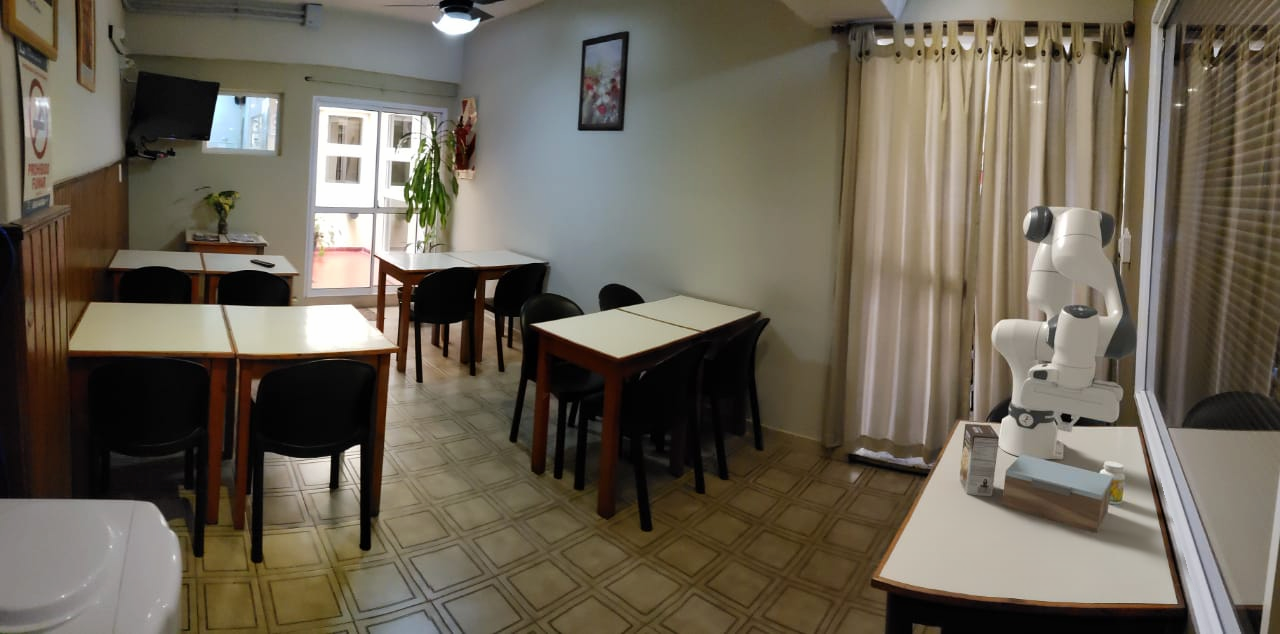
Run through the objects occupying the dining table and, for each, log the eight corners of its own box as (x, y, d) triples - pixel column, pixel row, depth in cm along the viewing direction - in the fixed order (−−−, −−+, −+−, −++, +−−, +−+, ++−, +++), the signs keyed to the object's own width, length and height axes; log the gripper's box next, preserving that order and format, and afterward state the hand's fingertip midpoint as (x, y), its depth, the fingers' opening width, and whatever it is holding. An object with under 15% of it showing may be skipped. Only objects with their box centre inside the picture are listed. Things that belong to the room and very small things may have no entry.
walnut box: (1017, 487, 185) (1021, 458, 183) (1107, 511, 172) (1112, 481, 170) (1001, 505, 174) (1005, 474, 173) (1096, 532, 161) (1101, 500, 160)
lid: (1020, 460, 183) (1021, 454, 183) (1111, 483, 170) (1112, 476, 170) (1003, 478, 172) (1004, 471, 172) (1099, 504, 159) (1100, 496, 159)
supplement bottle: (1126, 502, 177) (1131, 466, 175) (1112, 506, 175) (1118, 469, 173) (1104, 493, 182) (1109, 458, 180) (1091, 497, 180) (1096, 461, 178)
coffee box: (958, 479, 189) (964, 422, 186) (983, 482, 188) (990, 424, 185) (966, 494, 180) (972, 434, 177) (993, 497, 179) (1000, 436, 176)
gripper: (1126, 380, 162) (1118, 437, 165) (1028, 364, 175) (1022, 417, 178) (1122, 387, 157) (1113, 445, 160) (1021, 369, 171) (1014, 423, 174)
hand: (1064, 430), depth 169 cm, fingers closed
